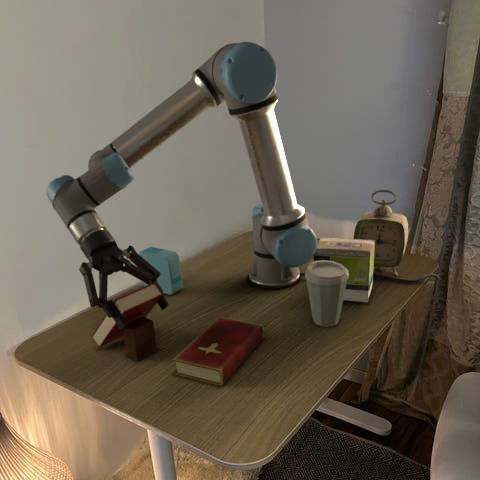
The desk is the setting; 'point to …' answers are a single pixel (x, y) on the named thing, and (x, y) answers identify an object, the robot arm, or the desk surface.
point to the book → (128, 312)
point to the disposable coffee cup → (326, 290)
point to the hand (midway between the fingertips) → (145, 317)
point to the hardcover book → (218, 350)
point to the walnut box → (140, 338)
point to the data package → (165, 268)
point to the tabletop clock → (384, 233)
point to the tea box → (351, 263)
